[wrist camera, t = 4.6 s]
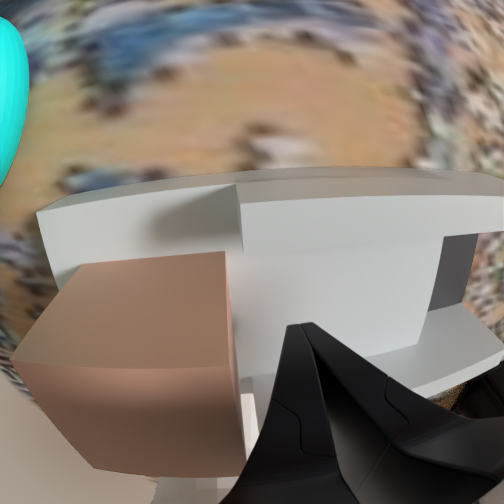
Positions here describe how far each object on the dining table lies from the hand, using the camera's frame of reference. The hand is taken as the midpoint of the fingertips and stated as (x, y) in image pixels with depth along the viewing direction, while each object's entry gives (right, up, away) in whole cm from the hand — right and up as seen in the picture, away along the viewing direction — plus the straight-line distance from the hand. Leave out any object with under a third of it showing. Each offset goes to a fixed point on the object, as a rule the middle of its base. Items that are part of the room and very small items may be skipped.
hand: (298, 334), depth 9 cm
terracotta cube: (-5, 0, +1) cm, 5 cm away
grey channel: (+2, +2, +4) cm, 5 cm away
